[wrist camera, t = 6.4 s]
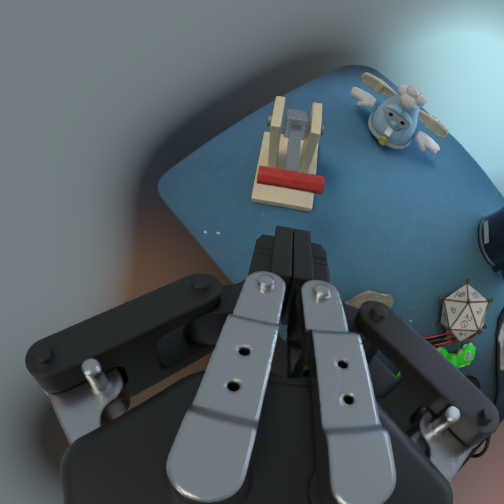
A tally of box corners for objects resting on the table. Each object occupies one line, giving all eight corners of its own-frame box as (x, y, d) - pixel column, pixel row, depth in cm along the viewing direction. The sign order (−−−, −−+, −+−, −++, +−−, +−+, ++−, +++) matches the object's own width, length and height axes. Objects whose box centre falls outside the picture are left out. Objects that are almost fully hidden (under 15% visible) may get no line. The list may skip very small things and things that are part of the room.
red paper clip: (411, 352, 33) (409, 351, 34) (479, 336, 33) (477, 336, 33) (412, 338, 33) (409, 338, 34) (479, 324, 33) (477, 324, 34)
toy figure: (327, 126, 41) (351, 56, 26) (355, 94, 43) (380, 32, 28) (414, 188, 39) (467, 138, 24) (432, 149, 40) (476, 99, 26)
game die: (438, 326, 37) (465, 368, 28) (414, 300, 36) (445, 346, 26) (476, 287, 34) (510, 323, 25) (457, 256, 32) (497, 293, 23)
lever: (319, 203, 22) (326, 178, 20) (255, 192, 22) (258, 166, 20) (316, 132, 30) (320, 114, 28) (272, 125, 30) (275, 106, 29)
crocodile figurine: (467, 365, 32) (484, 367, 28) (373, 423, 31) (385, 434, 27) (459, 328, 34) (476, 328, 30) (362, 384, 33) (374, 391, 28)
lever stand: (310, 212, 38) (334, 164, 25) (251, 202, 38) (249, 150, 26) (317, 145, 40) (336, 87, 28) (264, 136, 41) (266, 75, 28)
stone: (296, 316, 36) (307, 351, 36) (298, 320, 33) (310, 358, 33) (388, 280, 35) (397, 314, 35) (396, 281, 32) (405, 317, 32)
